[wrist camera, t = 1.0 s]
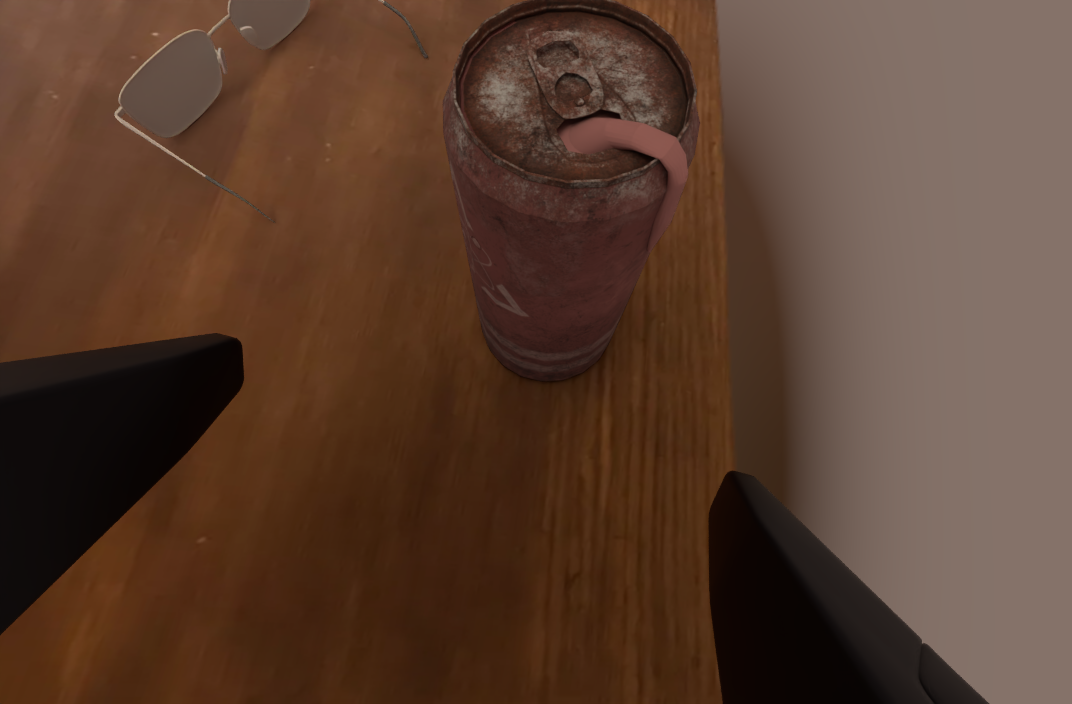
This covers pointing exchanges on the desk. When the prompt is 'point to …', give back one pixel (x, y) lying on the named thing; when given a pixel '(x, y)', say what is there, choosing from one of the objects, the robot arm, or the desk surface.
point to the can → (565, 171)
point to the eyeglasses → (203, 69)
